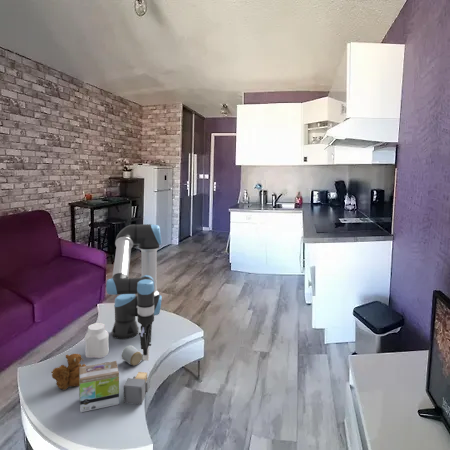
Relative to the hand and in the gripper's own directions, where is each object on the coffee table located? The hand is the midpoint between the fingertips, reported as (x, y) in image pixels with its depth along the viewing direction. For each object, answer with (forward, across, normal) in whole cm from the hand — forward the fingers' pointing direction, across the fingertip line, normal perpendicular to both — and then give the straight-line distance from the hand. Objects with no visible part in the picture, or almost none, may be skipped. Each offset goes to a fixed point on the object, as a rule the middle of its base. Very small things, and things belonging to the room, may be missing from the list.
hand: (146, 359), depth 166 cm
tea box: (+6, +23, -13) cm, 27 cm away
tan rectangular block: (+6, +15, +1) cm, 16 cm away
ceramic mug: (+7, -9, -9) cm, 14 cm away
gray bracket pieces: (+6, +17, +1) cm, 18 cm away
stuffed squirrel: (+7, +13, -30) cm, 34 cm away
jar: (+8, -14, -30) cm, 34 cm away
